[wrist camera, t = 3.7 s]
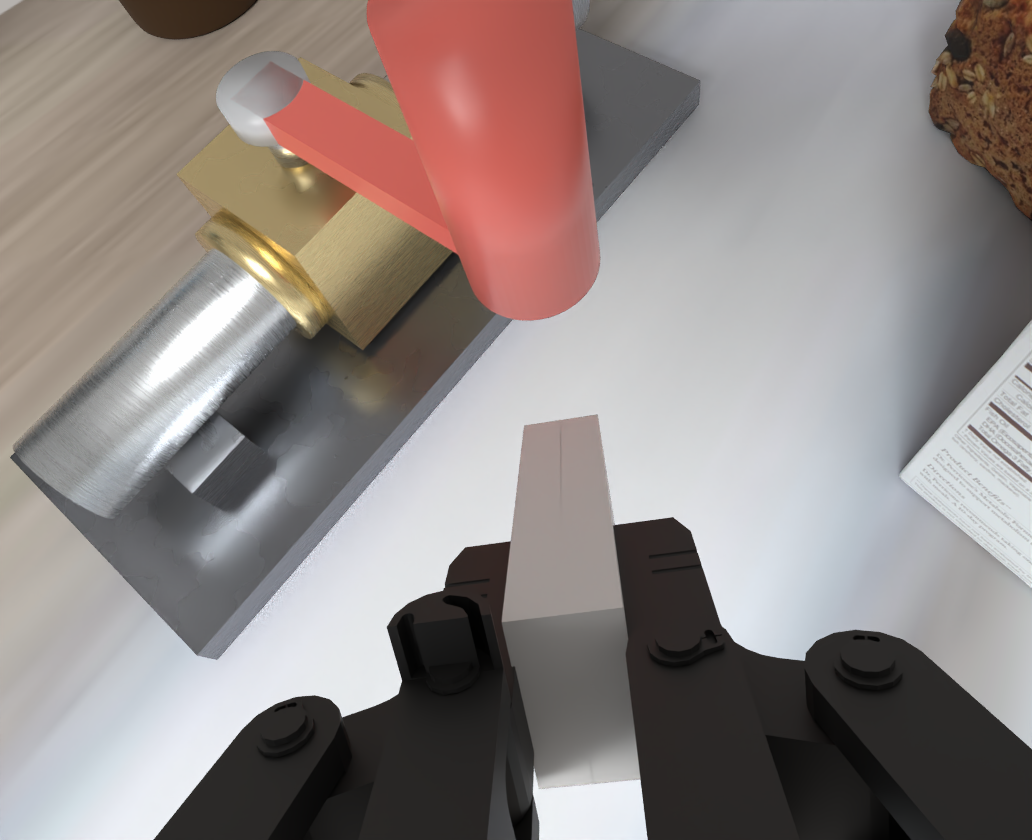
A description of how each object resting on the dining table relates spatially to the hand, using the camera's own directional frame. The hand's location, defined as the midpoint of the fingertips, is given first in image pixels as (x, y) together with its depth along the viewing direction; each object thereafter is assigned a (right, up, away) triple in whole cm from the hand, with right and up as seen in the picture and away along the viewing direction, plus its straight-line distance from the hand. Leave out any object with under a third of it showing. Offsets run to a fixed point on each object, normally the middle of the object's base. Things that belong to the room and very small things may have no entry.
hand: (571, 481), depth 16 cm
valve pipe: (-8, +8, +22) cm, 24 cm away
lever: (-5, +9, +9) cm, 14 cm away
